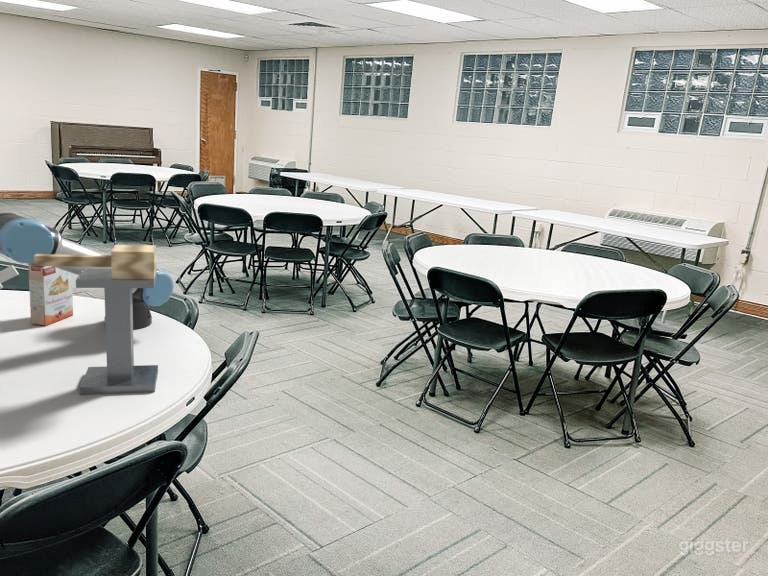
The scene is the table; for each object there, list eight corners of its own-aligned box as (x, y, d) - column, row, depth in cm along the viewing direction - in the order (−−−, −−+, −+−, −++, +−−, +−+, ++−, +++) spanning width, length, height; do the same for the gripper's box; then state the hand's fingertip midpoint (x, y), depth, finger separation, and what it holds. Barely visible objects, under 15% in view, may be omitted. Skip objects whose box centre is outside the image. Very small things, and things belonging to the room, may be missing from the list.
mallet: (31, 277, 152) (29, 249, 151) (40, 269, 161) (38, 242, 159) (154, 279, 160) (153, 252, 159) (156, 271, 169) (156, 245, 167)
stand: (79, 394, 160) (74, 280, 153) (88, 373, 173) (84, 267, 166) (154, 391, 165) (153, 281, 158) (158, 371, 178) (156, 268, 171)
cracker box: (46, 326, 207) (42, 264, 202) (30, 324, 208) (26, 262, 203) (74, 315, 220) (72, 257, 215) (59, 313, 221) (56, 255, 216)
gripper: (-46, 314, 167) (30, 276, 169) (-86, 346, 143) (1, 302, 146) (-64, 290, 164) (12, 252, 166) (-109, 319, 141) (-19, 275, 143)
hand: (7, 276), depth 156 cm, fingers open, 13 cm apart
